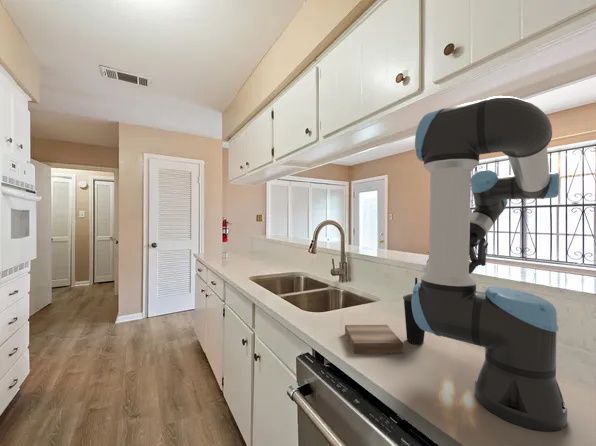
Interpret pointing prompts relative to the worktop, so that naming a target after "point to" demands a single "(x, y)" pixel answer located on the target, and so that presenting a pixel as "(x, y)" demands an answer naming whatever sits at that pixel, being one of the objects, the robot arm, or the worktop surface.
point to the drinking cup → (412, 322)
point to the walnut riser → (373, 339)
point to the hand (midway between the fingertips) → (441, 275)
